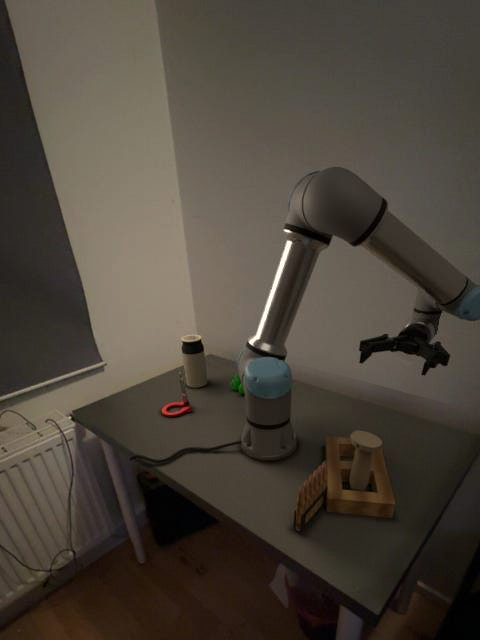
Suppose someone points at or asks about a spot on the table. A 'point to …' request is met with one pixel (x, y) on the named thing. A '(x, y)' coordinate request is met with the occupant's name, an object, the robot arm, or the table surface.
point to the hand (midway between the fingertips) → (391, 363)
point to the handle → (362, 458)
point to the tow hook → (184, 403)
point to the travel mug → (194, 361)
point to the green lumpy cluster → (237, 384)
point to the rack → (339, 471)
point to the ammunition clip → (311, 498)
